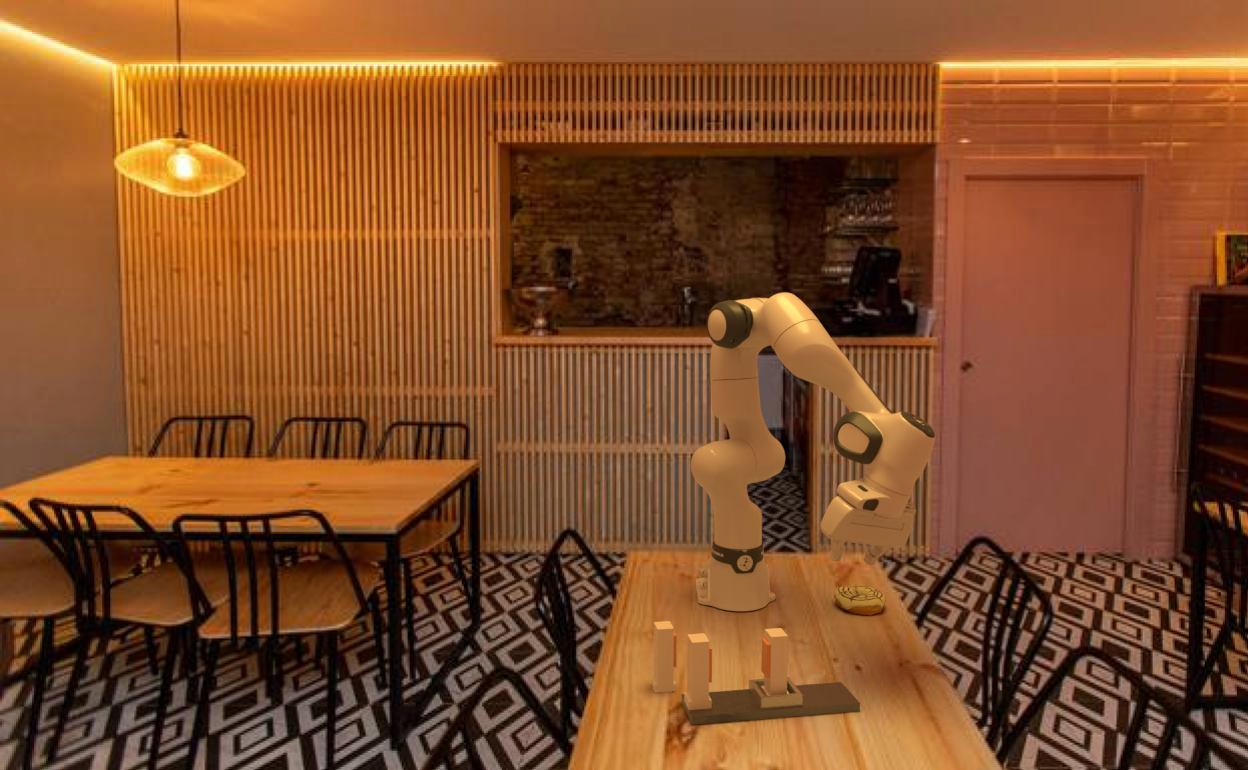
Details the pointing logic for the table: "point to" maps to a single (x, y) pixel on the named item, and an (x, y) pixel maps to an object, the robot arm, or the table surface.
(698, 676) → the post
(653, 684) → the white orange block
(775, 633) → the beige tall square block
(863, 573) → the table surface
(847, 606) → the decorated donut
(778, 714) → the rail
